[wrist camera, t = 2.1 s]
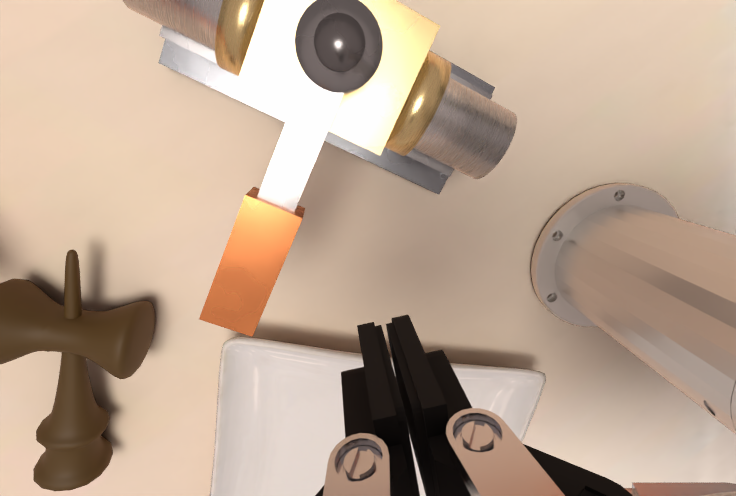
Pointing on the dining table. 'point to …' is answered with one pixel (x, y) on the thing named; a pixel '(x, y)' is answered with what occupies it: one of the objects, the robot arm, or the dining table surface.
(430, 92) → the ball valve
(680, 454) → the dining table surface
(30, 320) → the kendama
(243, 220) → the lever
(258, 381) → the square plate
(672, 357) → the robot arm
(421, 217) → the dining table surface
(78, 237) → the dining table surface
